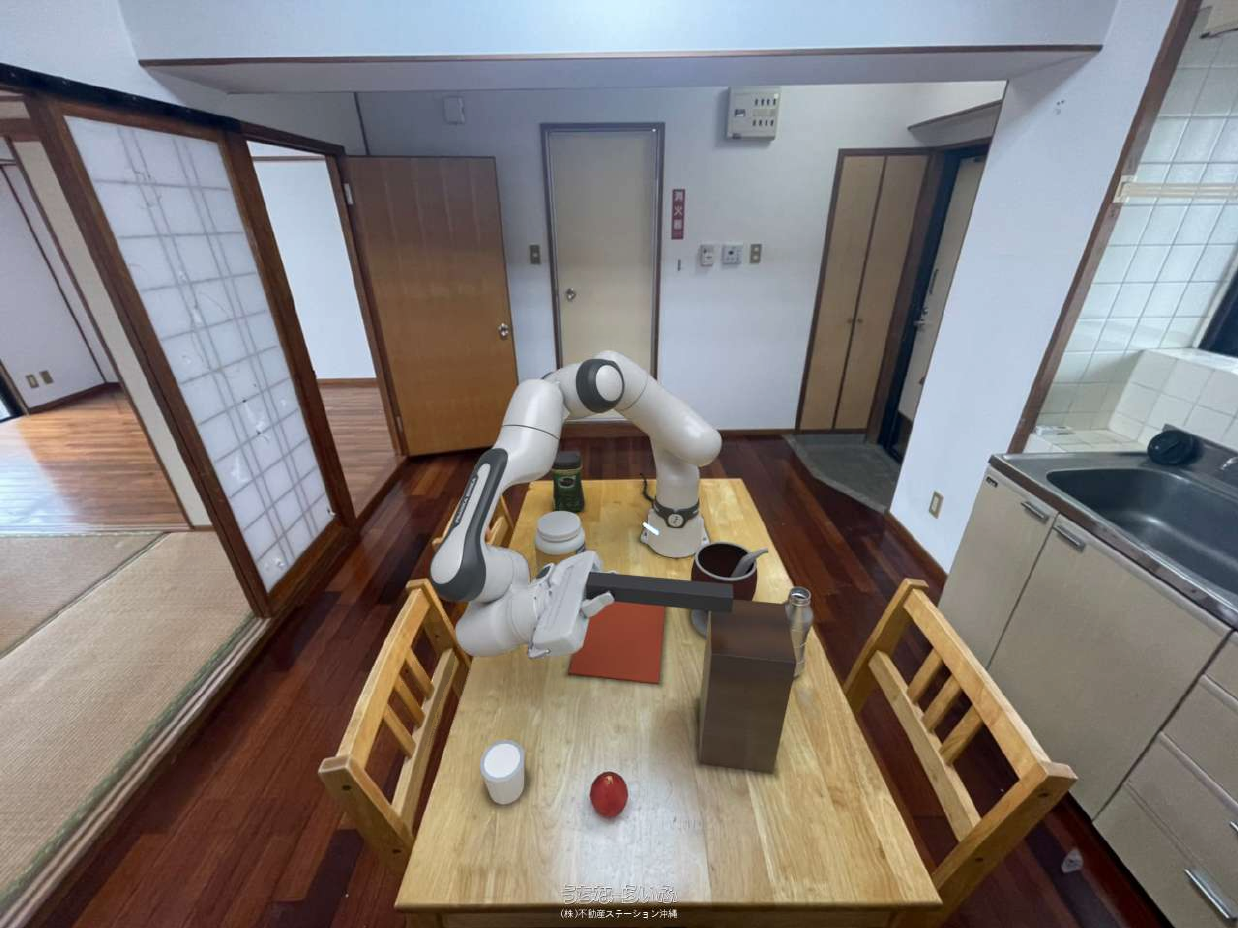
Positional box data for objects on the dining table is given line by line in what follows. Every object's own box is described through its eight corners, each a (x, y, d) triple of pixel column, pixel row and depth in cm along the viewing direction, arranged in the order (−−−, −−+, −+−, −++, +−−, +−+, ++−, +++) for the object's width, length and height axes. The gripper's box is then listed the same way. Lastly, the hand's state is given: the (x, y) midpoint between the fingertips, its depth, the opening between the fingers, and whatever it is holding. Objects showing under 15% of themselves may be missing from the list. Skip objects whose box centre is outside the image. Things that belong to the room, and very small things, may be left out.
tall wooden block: (699, 702, 97) (710, 597, 85) (764, 709, 96) (784, 603, 84) (699, 763, 87) (711, 653, 75) (772, 773, 85) (796, 662, 73)
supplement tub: (589, 592, 124) (587, 535, 117) (538, 598, 123) (532, 540, 115) (584, 561, 135) (582, 506, 127) (537, 566, 133) (532, 510, 126)
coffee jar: (584, 499, 162) (582, 446, 154) (584, 513, 155) (582, 458, 147) (553, 500, 162) (549, 447, 153) (552, 514, 155) (548, 459, 146)
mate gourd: (690, 643, 110) (696, 569, 101) (685, 598, 122) (690, 528, 113) (763, 644, 110) (776, 570, 100) (751, 599, 122) (761, 529, 113)
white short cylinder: (477, 783, 84) (471, 757, 81) (514, 757, 88) (510, 731, 85) (498, 818, 80) (492, 791, 76) (536, 788, 83) (532, 762, 80)
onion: (583, 813, 80) (581, 782, 76) (604, 781, 84) (603, 751, 81) (614, 835, 77) (613, 805, 74) (634, 802, 82) (635, 771, 78)
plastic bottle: (804, 685, 101) (822, 607, 91) (768, 679, 102) (782, 602, 93) (800, 659, 106) (817, 583, 97) (766, 654, 107) (780, 579, 98)
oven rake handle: (589, 586, 82) (589, 571, 81) (730, 599, 79) (732, 584, 78) (586, 599, 79) (585, 583, 78) (731, 613, 77) (733, 597, 75)
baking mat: (589, 598, 123) (589, 596, 122) (665, 605, 120) (665, 603, 120) (568, 674, 103) (568, 672, 103) (658, 684, 101) (658, 682, 101)
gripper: (510, 647, 74) (591, 620, 69) (547, 558, 92) (614, 532, 87) (535, 676, 76) (615, 651, 71) (566, 584, 94) (632, 559, 89)
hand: (614, 585), depth 79 cm, fingers closed on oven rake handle, 3 cm apart
